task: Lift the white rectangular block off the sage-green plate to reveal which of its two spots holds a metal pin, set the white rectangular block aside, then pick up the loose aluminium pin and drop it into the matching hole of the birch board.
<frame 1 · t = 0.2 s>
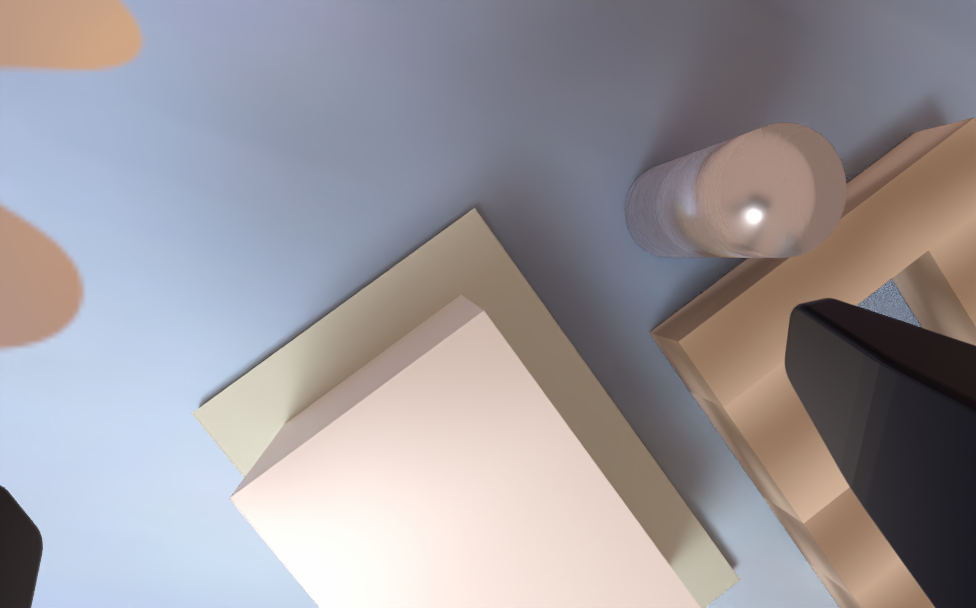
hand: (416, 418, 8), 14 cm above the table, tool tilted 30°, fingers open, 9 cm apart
white rectangular block: (482, 501, 22), point 1 cm above the table, touching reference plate
pin: (669, 211, 23), on the table
hole board: (912, 430, 24), on the table
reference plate: (480, 495, 23), on the table
when the fingers open (3 cm above the table, at t = 6.7 s): white rectangular block drops 2 cm, on the table.
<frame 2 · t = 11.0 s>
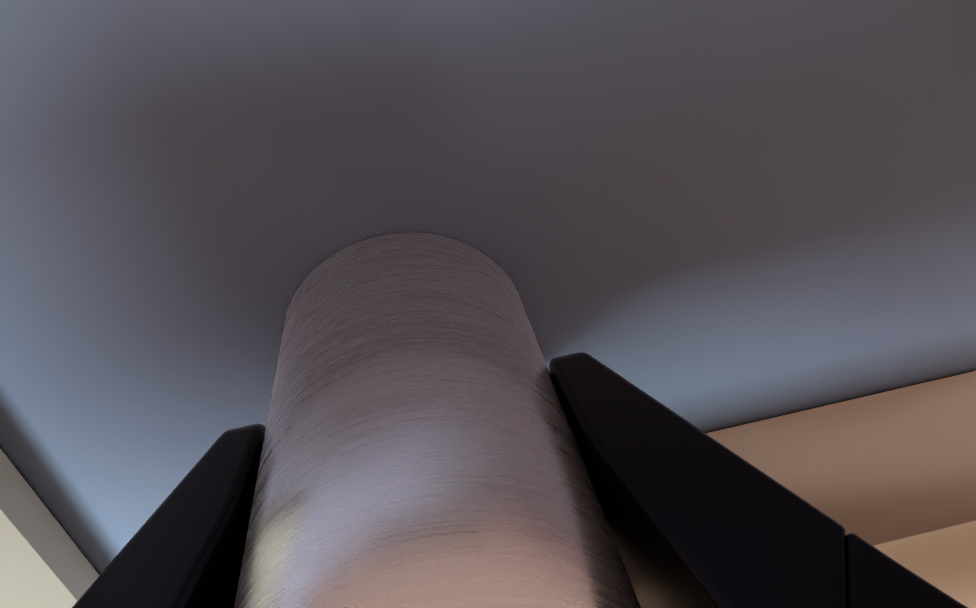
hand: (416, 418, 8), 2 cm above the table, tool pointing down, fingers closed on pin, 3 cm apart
pin: (408, 341, 9), on the table, touching gripper
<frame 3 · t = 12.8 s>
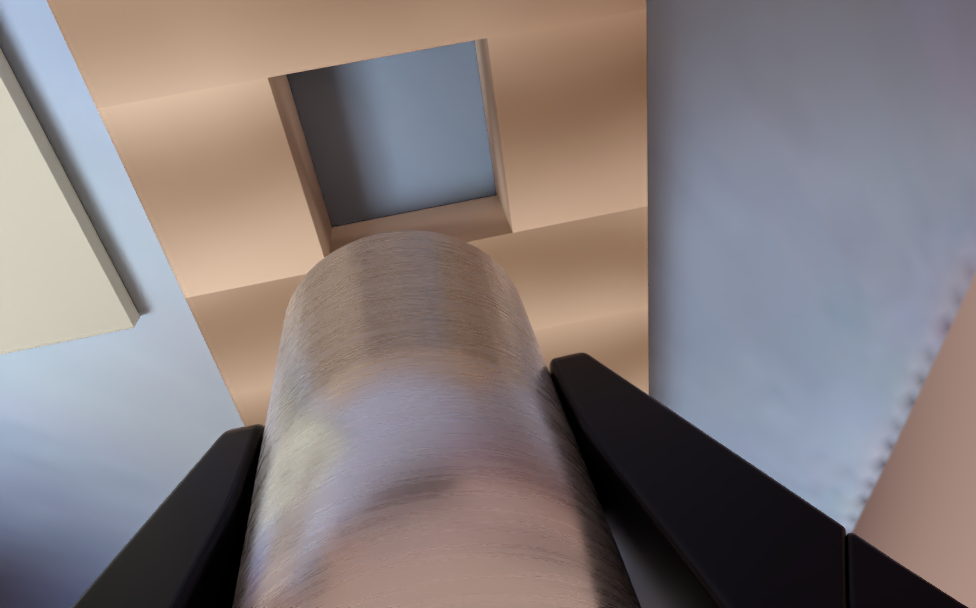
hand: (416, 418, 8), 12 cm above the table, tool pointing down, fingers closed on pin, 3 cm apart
pin: (407, 339, 9), point 10 cm above the table, touching gripper
hole board: (425, 259, 20), on the table
when the fingers open (3 cm above the table, at t = 14.6 s): pin drops 2 cm, resting in hole board.
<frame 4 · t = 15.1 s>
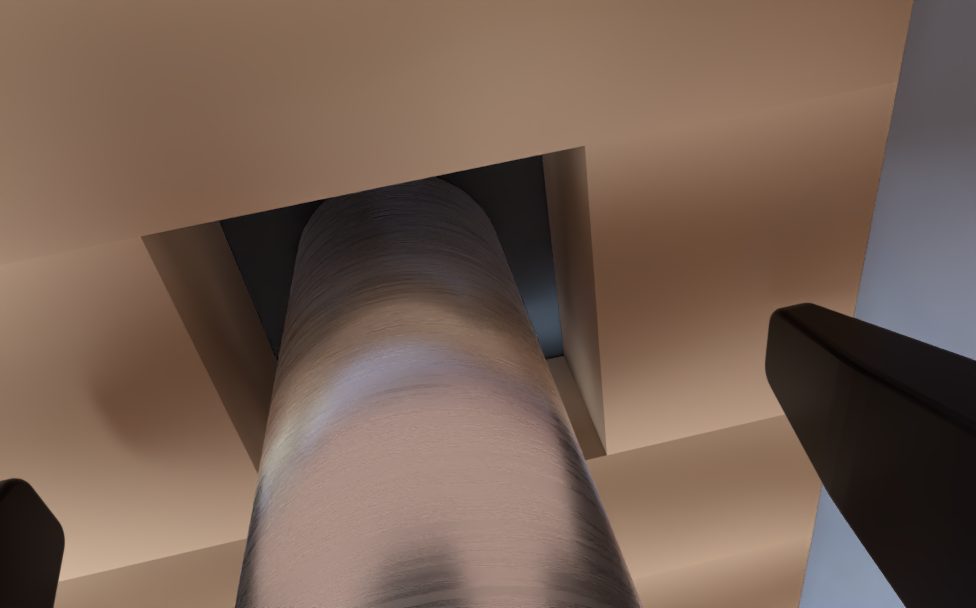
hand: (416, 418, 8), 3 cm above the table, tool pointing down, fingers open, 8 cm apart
pin: (401, 268, 10), resting in hole board
hole board: (449, 448, 13), on the table
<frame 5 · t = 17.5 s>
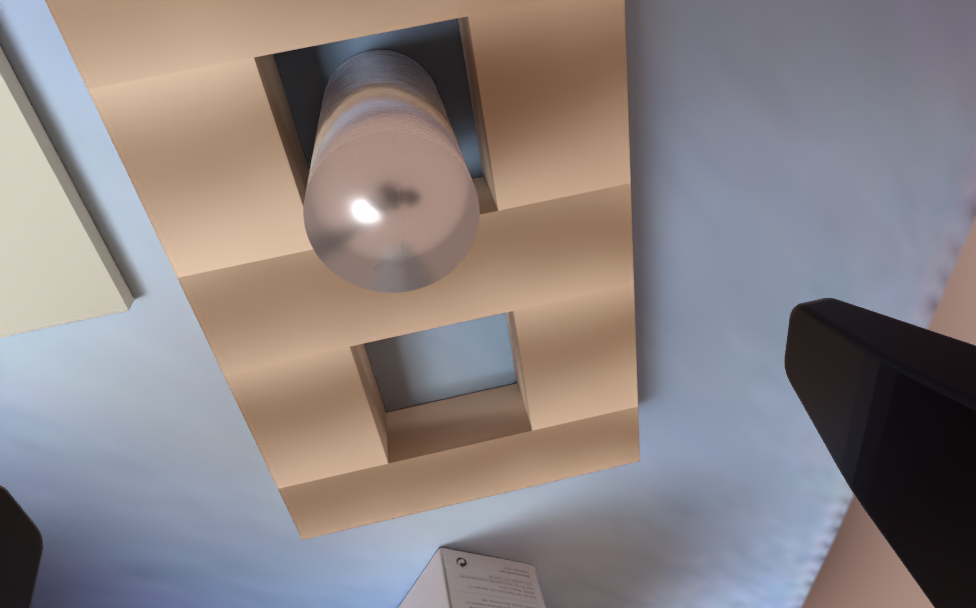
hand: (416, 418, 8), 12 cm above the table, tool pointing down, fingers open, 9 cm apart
pin: (382, 111, 18), resting in hole board
hole board: (414, 240, 20), on the table
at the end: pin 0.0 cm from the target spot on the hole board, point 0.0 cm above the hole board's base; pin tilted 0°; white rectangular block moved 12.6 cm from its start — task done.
